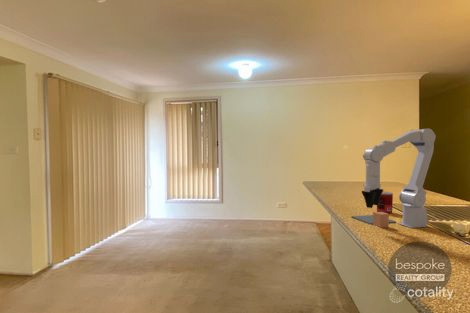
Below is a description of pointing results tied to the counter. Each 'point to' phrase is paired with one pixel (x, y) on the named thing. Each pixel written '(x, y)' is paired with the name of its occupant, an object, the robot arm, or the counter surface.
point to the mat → (368, 219)
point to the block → (380, 219)
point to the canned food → (385, 202)
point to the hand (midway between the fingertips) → (372, 206)
